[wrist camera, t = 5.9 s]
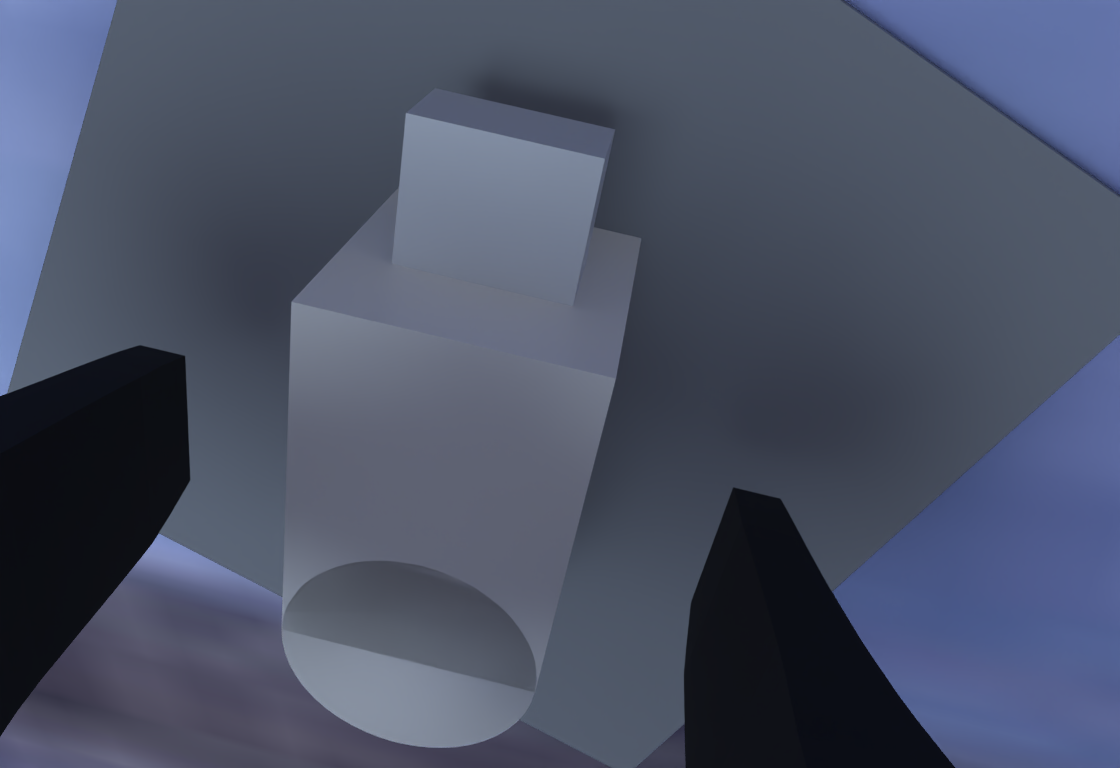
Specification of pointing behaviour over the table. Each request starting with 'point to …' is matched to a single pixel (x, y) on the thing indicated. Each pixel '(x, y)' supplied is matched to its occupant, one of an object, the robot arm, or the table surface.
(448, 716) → the connector
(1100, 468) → the table surface
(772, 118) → the mat
